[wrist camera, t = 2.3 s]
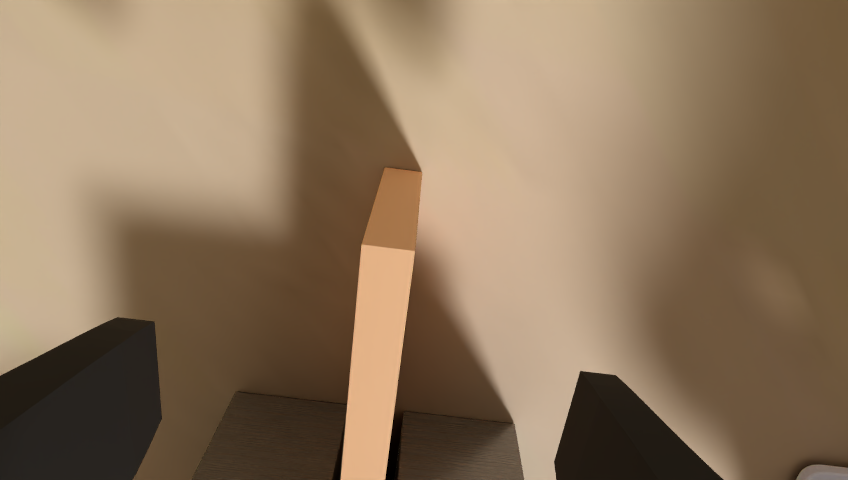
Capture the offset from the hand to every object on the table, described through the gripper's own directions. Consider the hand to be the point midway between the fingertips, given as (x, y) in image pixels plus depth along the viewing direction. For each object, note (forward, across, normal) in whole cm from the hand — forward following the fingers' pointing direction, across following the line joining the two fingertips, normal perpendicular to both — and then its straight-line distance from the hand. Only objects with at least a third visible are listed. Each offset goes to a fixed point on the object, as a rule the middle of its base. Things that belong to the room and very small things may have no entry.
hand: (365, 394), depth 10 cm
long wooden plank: (+7, 0, +4) cm, 8 cm away
